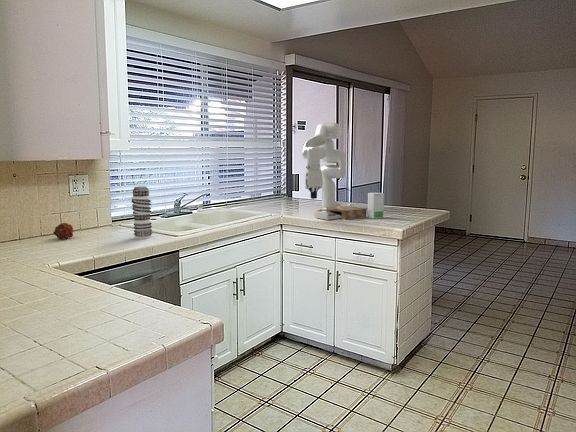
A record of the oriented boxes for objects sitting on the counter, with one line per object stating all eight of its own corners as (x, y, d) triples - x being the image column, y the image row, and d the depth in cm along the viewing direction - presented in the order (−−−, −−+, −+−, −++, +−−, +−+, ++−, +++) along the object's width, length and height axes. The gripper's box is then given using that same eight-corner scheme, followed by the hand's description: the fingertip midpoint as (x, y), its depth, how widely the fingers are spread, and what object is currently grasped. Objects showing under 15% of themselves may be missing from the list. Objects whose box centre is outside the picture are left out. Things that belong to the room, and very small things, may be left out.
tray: (334, 215, 293) (334, 209, 292) (346, 217, 282) (346, 211, 281) (314, 217, 285) (314, 211, 285) (327, 219, 274) (327, 213, 274)
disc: (330, 215, 288) (330, 211, 287) (337, 216, 282) (337, 213, 281) (321, 216, 284) (321, 212, 284) (327, 217, 278) (328, 214, 278)
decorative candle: (129, 238, 223) (126, 187, 219) (139, 235, 232) (136, 186, 228) (147, 239, 221) (144, 187, 218) (156, 235, 230) (153, 186, 227)
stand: (318, 214, 298) (318, 209, 298) (322, 215, 295) (322, 210, 294) (313, 215, 296) (313, 210, 296) (317, 216, 292) (317, 210, 292)
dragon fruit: (64, 244, 219) (62, 243, 229) (79, 232, 223) (75, 232, 233) (51, 230, 216) (49, 231, 226) (66, 219, 220) (63, 219, 230)
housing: (346, 213, 302) (346, 205, 301) (366, 217, 285) (366, 208, 284) (326, 215, 294) (326, 207, 293) (345, 219, 277) (345, 210, 276)
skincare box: (373, 218, 279) (373, 193, 276) (366, 217, 284) (366, 192, 282) (384, 217, 282) (384, 192, 280) (377, 216, 288) (377, 192, 286)
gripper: (306, 168, 266) (306, 199, 268) (327, 167, 273) (327, 198, 276) (299, 168, 272) (299, 198, 275) (320, 167, 280) (320, 197, 282)
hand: (313, 198), depth 275 cm, fingers closed
